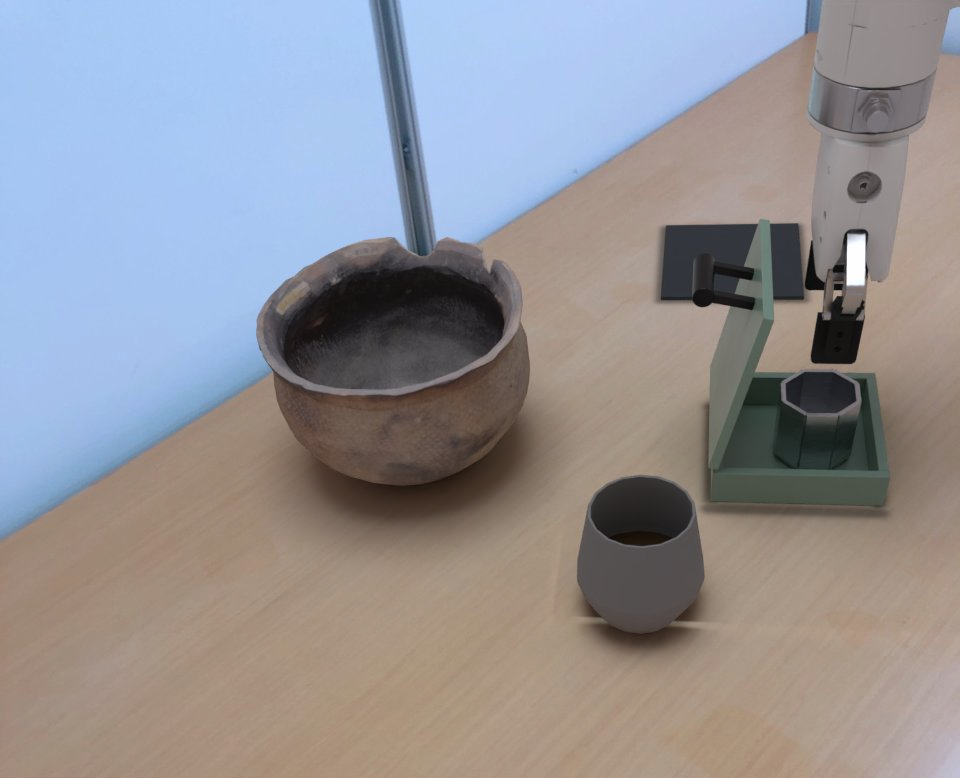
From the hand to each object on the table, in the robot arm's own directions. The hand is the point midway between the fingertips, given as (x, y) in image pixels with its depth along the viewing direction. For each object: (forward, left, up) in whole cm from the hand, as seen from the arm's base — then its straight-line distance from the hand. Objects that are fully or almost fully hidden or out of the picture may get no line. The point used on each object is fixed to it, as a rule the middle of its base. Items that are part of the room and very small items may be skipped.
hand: (828, 323), depth 84 cm
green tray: (+1, 0, -13) cm, 13 cm away
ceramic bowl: (+34, 0, -13) cm, 37 cm away
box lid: (+6, 0, -2) cm, 7 cm away
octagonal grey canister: (0, 0, -12) cm, 12 cm away
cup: (+13, +18, -13) cm, 26 cm away
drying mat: (+6, -31, -13) cm, 34 cm away
